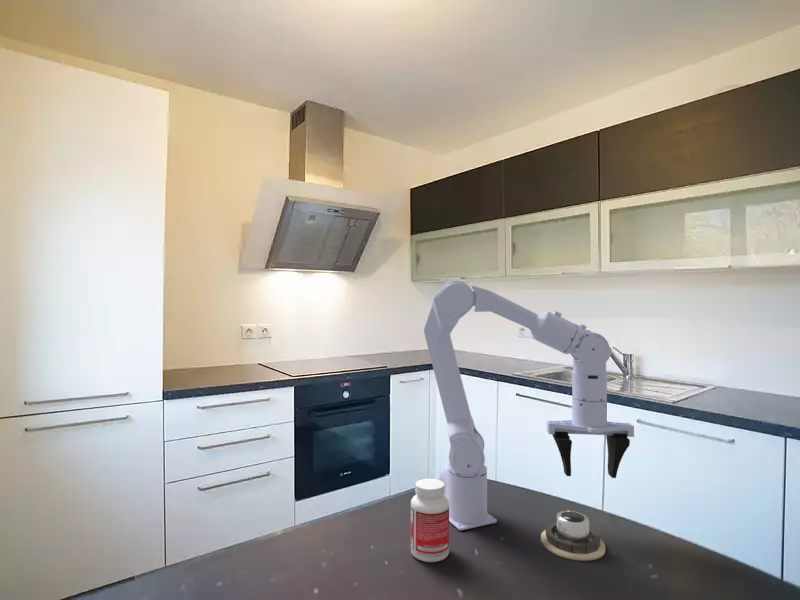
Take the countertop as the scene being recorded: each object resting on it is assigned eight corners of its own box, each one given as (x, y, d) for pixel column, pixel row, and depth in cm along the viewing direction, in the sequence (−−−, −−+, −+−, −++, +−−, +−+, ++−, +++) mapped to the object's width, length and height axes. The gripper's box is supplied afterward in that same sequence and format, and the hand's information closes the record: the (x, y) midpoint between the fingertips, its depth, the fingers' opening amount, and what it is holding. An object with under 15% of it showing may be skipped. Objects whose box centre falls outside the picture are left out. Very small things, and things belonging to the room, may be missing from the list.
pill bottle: (457, 556, 73) (457, 485, 73) (426, 568, 69) (426, 494, 69) (433, 539, 78) (433, 473, 78) (403, 550, 74) (403, 481, 74)
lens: (560, 548, 74) (560, 522, 74) (553, 533, 79) (553, 509, 79) (593, 550, 73) (593, 524, 73) (584, 535, 78) (584, 510, 78)
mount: (528, 536, 79) (528, 525, 79) (572, 525, 83) (572, 515, 83) (571, 566, 70) (571, 554, 70) (619, 552, 74) (619, 541, 74)
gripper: (552, 402, 79) (552, 481, 79) (641, 404, 77) (641, 485, 77) (544, 394, 86) (544, 467, 86) (625, 396, 84) (625, 470, 84)
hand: (589, 475), depth 82 cm, fingers open, 7 cm apart
